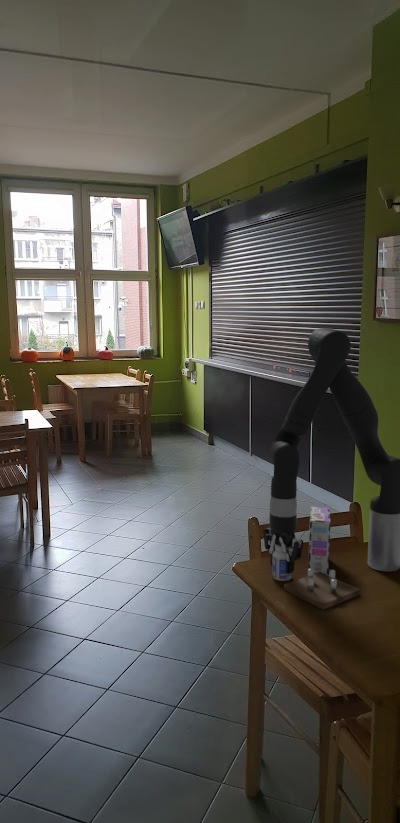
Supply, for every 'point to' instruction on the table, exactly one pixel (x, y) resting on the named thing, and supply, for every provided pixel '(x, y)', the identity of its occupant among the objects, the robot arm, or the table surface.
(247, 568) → the table surface
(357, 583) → the table surface
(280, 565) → the pill bottle
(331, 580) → the steel pegs
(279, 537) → the robot arm
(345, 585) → the peg board
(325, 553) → the candy box
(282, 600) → the table surface
